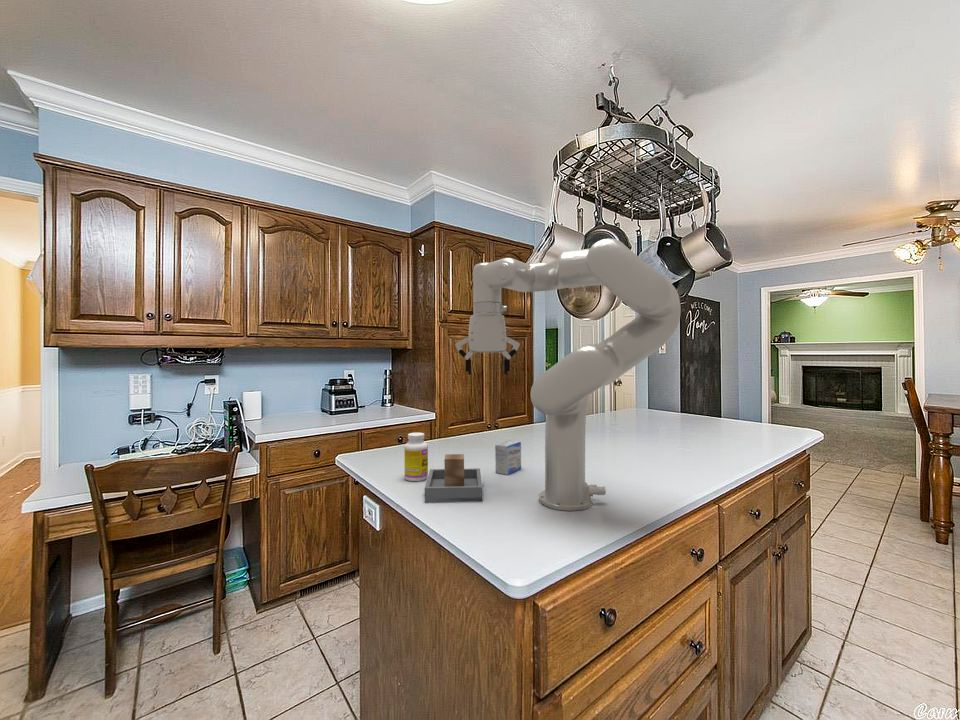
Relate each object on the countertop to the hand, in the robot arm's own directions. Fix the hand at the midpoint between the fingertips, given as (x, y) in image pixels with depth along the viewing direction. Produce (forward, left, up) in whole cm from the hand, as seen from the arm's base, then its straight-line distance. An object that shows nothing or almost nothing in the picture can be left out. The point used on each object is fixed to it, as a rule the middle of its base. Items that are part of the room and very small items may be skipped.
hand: (487, 374), depth 111 cm
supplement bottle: (+20, -8, -31) cm, 37 cm away
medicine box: (-7, -14, -31) cm, 34 cm away
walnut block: (+9, +3, -29) cm, 31 cm away
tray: (+9, +3, -30) cm, 32 cm away
